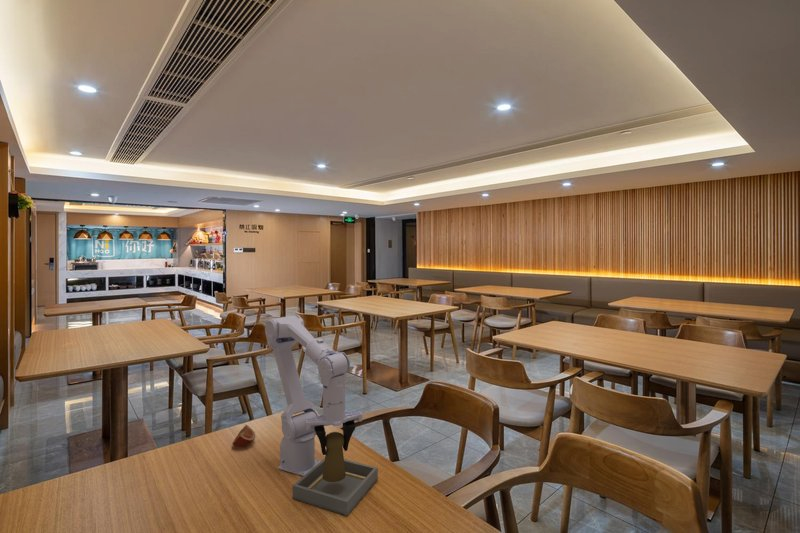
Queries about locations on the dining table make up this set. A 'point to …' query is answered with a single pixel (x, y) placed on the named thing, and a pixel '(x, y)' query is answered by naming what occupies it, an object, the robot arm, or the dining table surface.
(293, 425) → the robot arm
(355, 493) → the walled box
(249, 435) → the fruit slice
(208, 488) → the dining table surface
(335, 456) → the cork
